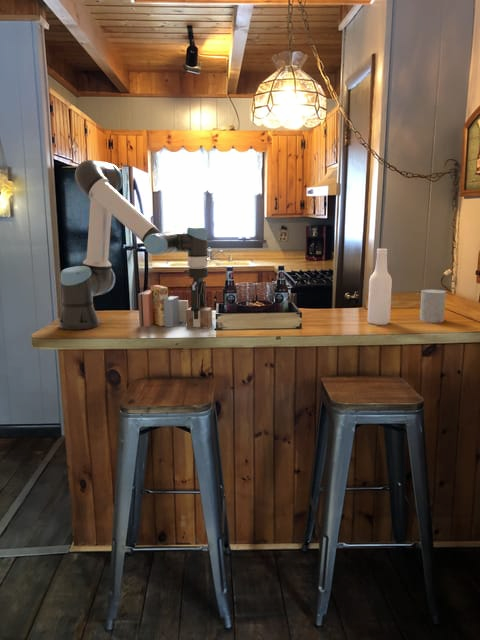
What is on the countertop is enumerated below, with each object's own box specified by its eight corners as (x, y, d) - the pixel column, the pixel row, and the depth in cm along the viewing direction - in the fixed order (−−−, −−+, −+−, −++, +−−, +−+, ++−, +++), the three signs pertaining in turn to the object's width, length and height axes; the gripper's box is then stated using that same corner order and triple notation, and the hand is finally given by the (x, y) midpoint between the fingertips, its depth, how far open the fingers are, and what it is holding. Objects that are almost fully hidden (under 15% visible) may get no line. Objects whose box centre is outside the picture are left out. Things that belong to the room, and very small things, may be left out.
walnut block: (186, 327, 203) (185, 309, 202) (190, 324, 209) (190, 307, 208) (208, 328, 202) (208, 310, 200) (212, 324, 207) (211, 307, 206)
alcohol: (392, 324, 206) (397, 249, 199) (370, 325, 205) (374, 249, 199) (385, 320, 214) (389, 247, 208) (364, 320, 214) (367, 248, 207)
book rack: (139, 326, 206) (138, 294, 203) (150, 320, 217) (148, 289, 214) (180, 327, 202) (179, 295, 200) (188, 321, 213) (187, 290, 211)
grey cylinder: (444, 323, 208) (446, 293, 205) (419, 321, 211) (421, 292, 208) (443, 318, 217) (445, 289, 214) (419, 317, 220) (421, 288, 217)
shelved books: (143, 326, 206) (142, 294, 203) (151, 321, 215) (150, 290, 212) (172, 327, 204) (171, 294, 201) (179, 322, 212) (178, 291, 209)
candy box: (170, 325, 207) (168, 287, 203) (160, 326, 204) (158, 288, 201) (160, 321, 214) (159, 284, 211) (151, 322, 212) (149, 285, 208)
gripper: (200, 270, 191) (201, 330, 196) (213, 264, 209) (214, 320, 214) (181, 269, 192) (183, 329, 197) (195, 264, 210) (196, 319, 215)
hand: (199, 324), depth 205 cm, fingers closed on walnut block, 6 cm apart
